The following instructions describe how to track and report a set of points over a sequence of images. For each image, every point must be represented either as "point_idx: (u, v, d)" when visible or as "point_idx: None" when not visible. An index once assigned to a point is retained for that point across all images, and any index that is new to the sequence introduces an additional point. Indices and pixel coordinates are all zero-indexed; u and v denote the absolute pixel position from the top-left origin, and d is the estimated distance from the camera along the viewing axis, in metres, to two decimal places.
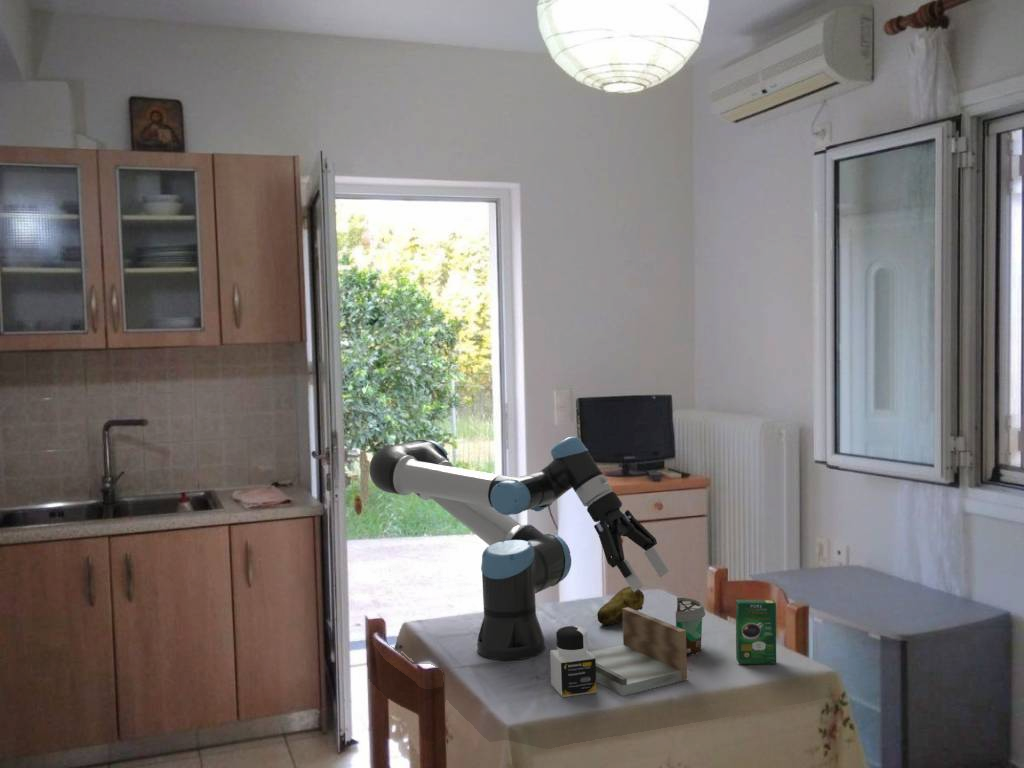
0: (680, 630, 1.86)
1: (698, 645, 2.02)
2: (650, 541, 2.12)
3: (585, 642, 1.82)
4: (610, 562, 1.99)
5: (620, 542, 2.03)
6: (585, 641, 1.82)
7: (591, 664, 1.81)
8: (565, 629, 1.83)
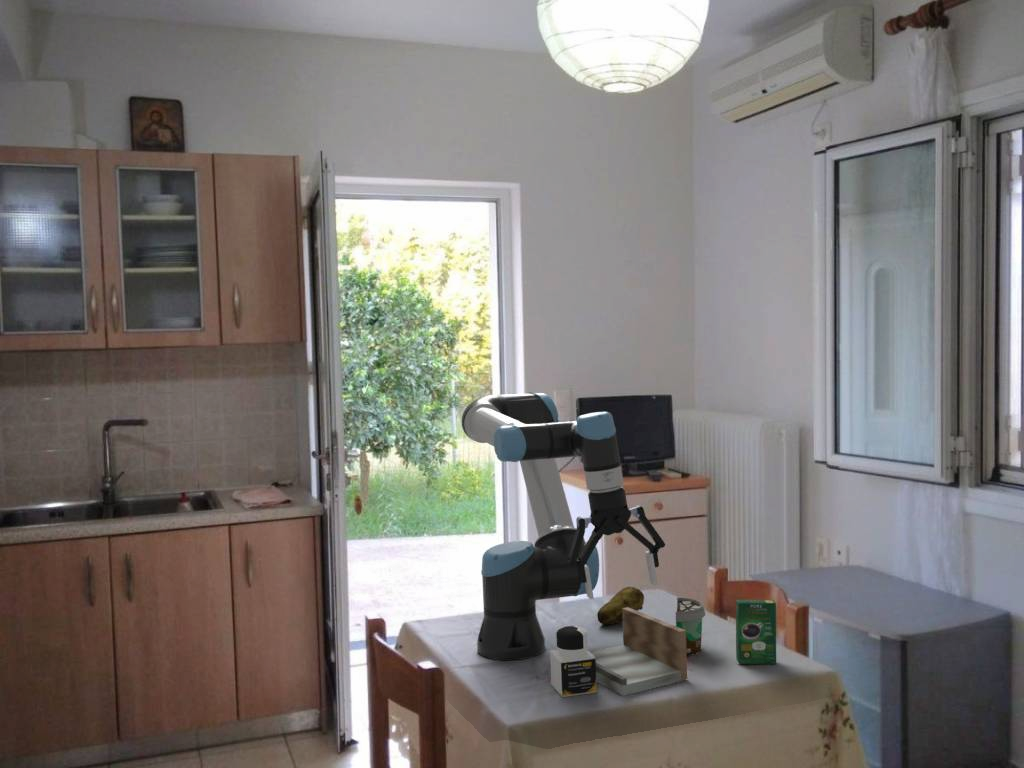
0: (680, 630, 1.86)
1: (698, 645, 2.02)
2: (651, 547, 1.91)
3: (585, 642, 1.82)
4: (568, 563, 1.90)
5: (592, 546, 1.89)
6: (585, 641, 1.82)
7: (591, 664, 1.81)
8: (565, 629, 1.83)
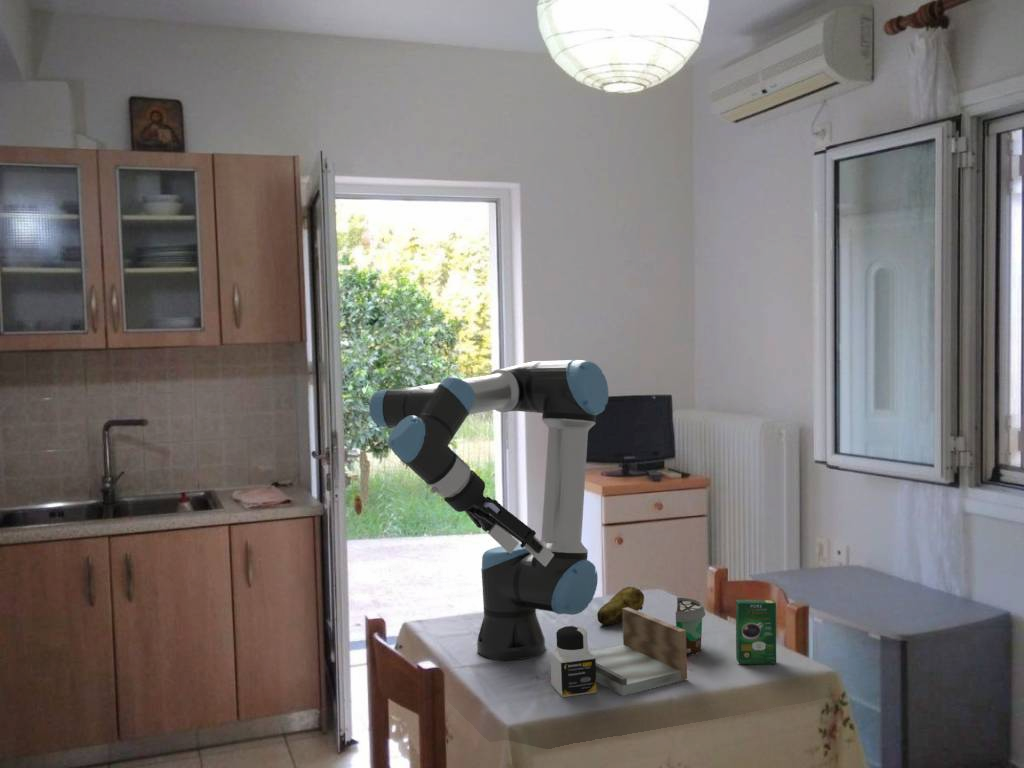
0: (680, 630, 1.86)
1: (698, 645, 2.02)
2: (519, 540, 1.70)
3: (585, 642, 1.82)
4: None
5: (480, 521, 1.80)
6: (585, 641, 1.82)
7: (591, 664, 1.81)
8: (565, 629, 1.83)
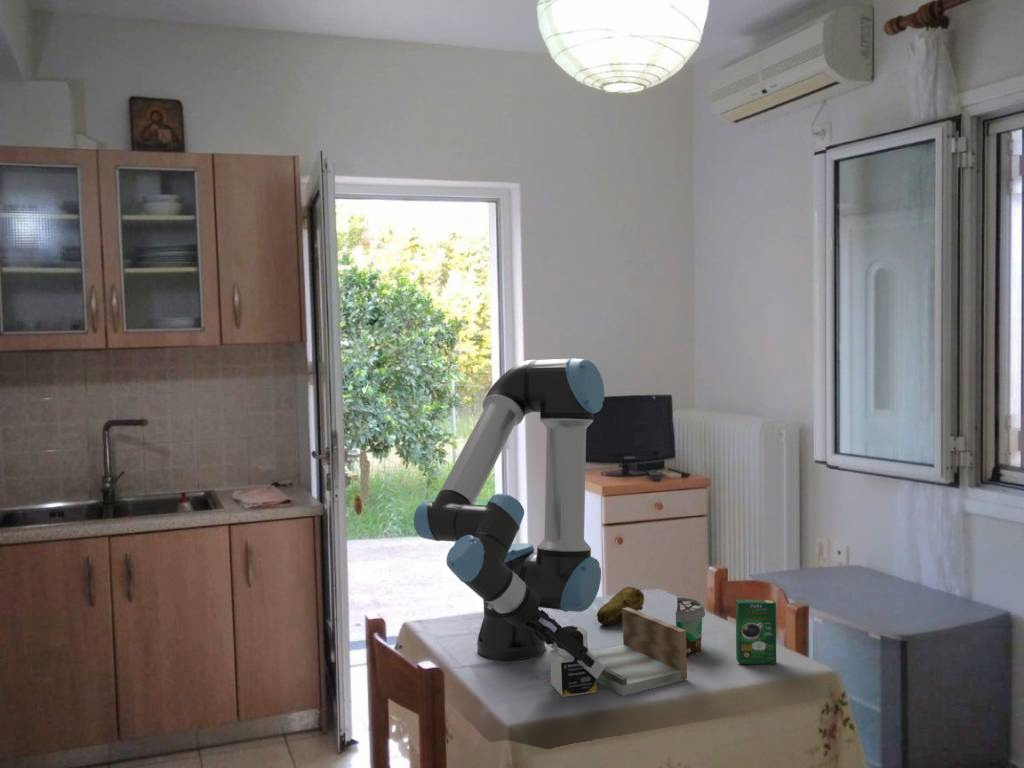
0: (680, 630, 1.86)
1: (698, 645, 2.02)
2: (572, 655, 1.78)
3: (585, 642, 1.82)
4: None
5: (539, 634, 1.84)
6: (585, 641, 1.82)
7: None
8: (565, 629, 1.83)
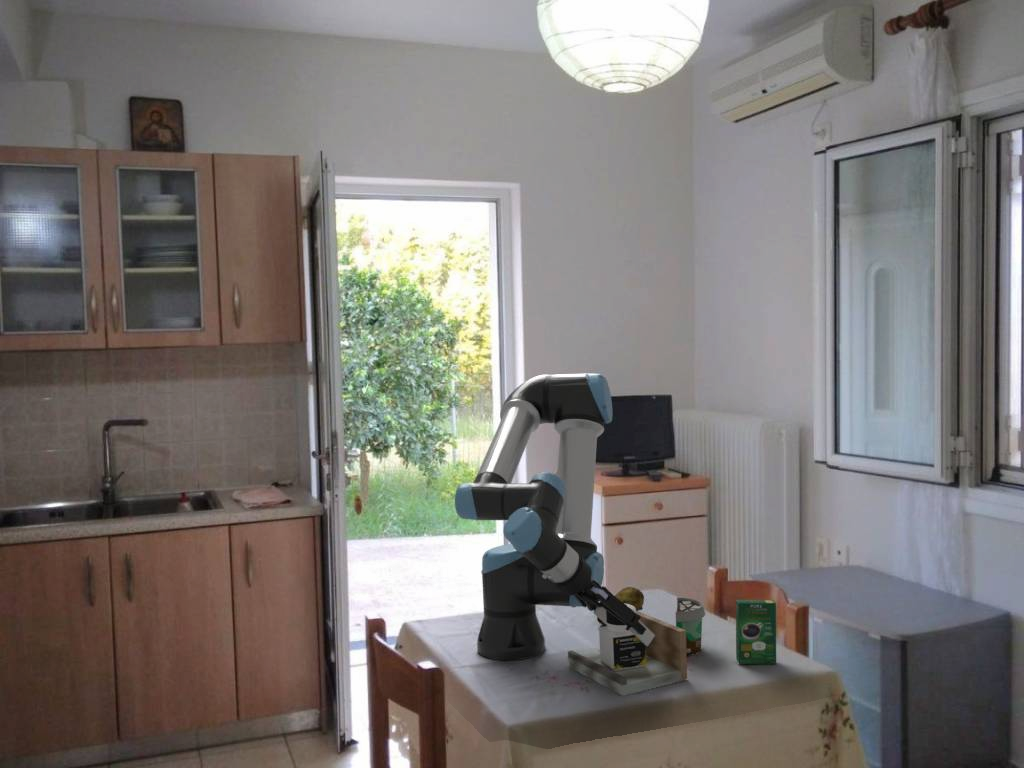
0: (680, 630, 1.86)
1: (698, 645, 2.02)
2: (624, 623, 1.84)
3: None
4: None
5: (586, 602, 1.92)
6: None
7: None
8: None
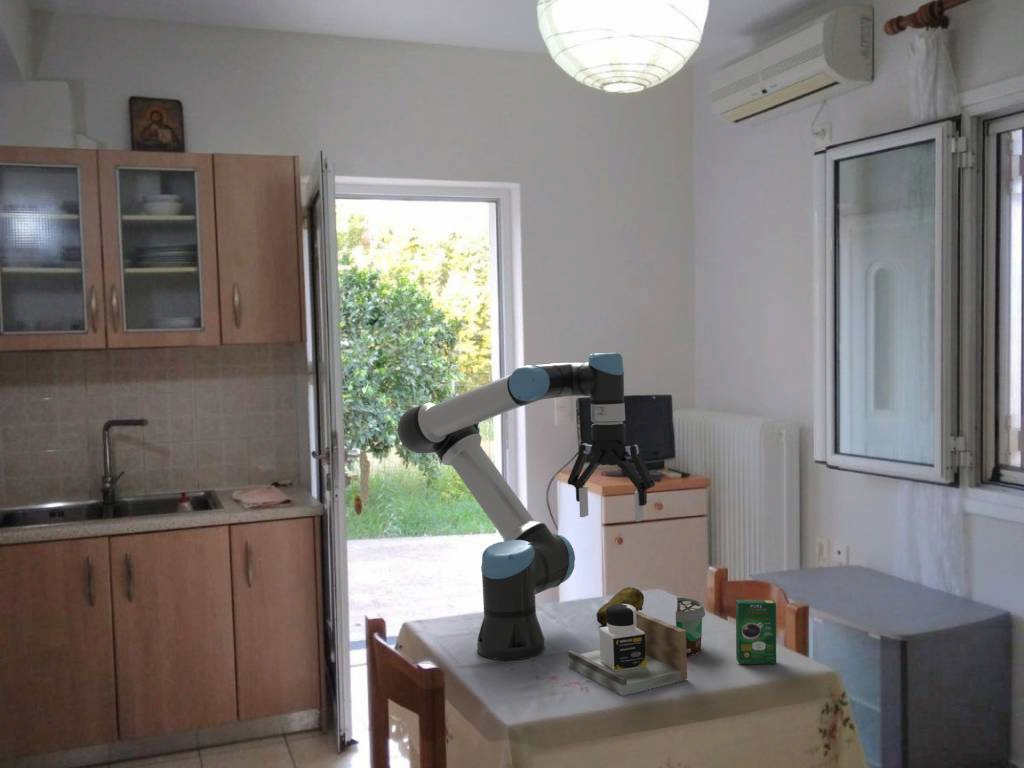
0: (680, 630, 1.86)
1: (698, 645, 2.02)
2: (637, 485, 2.03)
3: (635, 618, 1.90)
4: None
5: (587, 471, 2.09)
6: (635, 617, 1.90)
7: (641, 639, 1.89)
8: (615, 606, 1.91)
